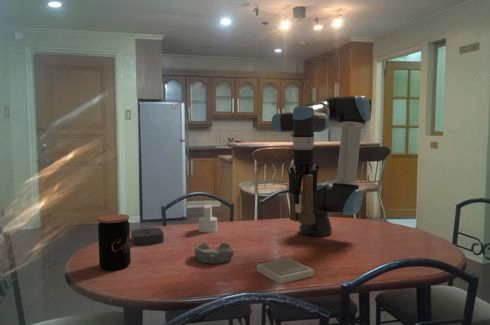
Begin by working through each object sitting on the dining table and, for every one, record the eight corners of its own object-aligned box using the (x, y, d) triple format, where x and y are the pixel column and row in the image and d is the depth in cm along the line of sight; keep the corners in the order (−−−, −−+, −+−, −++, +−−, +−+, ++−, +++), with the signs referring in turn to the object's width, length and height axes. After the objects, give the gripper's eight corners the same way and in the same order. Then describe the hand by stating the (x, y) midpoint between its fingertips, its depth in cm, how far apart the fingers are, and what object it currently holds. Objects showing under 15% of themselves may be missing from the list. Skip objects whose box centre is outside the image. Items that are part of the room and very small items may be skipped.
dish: (191, 256, 158) (190, 243, 157) (224, 251, 163) (224, 239, 163) (202, 268, 144) (201, 254, 144) (238, 262, 150) (238, 249, 149)
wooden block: (297, 218, 157) (297, 172, 156) (315, 224, 148) (315, 175, 146) (289, 219, 155) (289, 173, 154) (307, 225, 146) (307, 175, 145)
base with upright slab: (216, 233, 191) (216, 208, 190) (197, 233, 191) (197, 208, 190) (218, 228, 200) (218, 204, 199) (199, 228, 200) (199, 204, 199)
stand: (256, 270, 141) (256, 263, 141) (289, 263, 148) (289, 257, 148) (279, 284, 129) (280, 276, 129) (314, 275, 136) (314, 268, 136)
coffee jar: (113, 273, 139) (111, 221, 137) (93, 268, 144) (91, 218, 143) (137, 264, 148) (135, 215, 146) (117, 259, 153) (115, 212, 152)
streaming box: (130, 240, 181) (130, 230, 181) (159, 237, 186) (159, 227, 185) (134, 247, 169) (133, 237, 169) (164, 244, 174) (164, 234, 174)
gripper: (291, 150, 141) (291, 216, 143) (327, 148, 150) (327, 211, 152) (278, 149, 148) (278, 212, 150) (314, 147, 156) (313, 207, 158)
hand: (303, 211), depth 151 cm, fingers closed on wooden block, 4 cm apart
